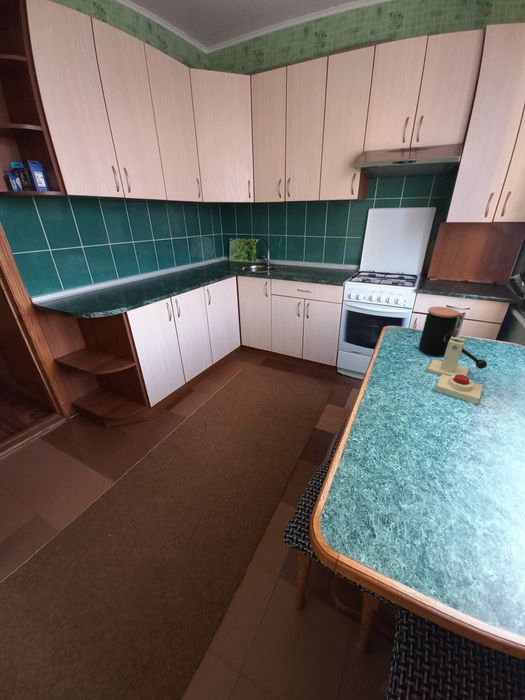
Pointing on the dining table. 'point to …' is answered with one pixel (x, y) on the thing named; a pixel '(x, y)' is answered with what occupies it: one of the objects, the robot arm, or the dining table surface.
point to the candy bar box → (458, 323)
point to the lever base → (449, 360)
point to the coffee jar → (438, 330)
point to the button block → (459, 389)
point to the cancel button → (461, 379)
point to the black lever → (474, 358)
